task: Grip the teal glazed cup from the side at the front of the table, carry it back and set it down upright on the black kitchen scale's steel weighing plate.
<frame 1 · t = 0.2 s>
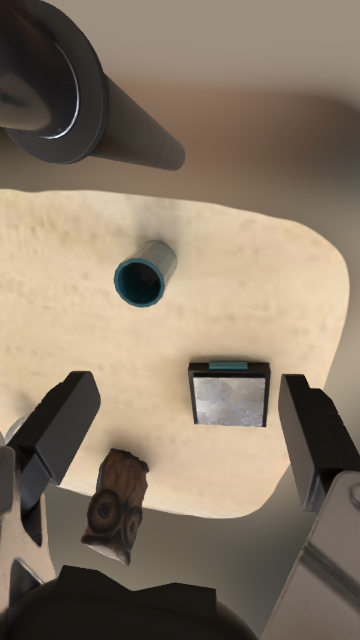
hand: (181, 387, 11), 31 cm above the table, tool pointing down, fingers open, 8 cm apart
owl: (124, 462, 70), on the table
scale: (228, 391, 52), on the table
cup: (156, 261, 40), on the table
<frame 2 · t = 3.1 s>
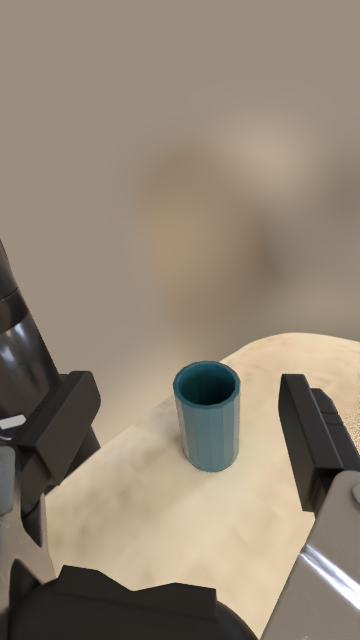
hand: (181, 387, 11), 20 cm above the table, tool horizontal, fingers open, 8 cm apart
cup: (210, 443, 30), on the table
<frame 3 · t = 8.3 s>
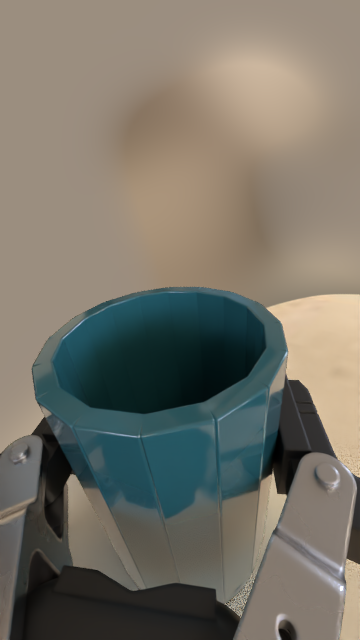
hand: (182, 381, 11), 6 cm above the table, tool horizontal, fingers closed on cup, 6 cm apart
cup: (189, 509, 12), on the table, touching gripper
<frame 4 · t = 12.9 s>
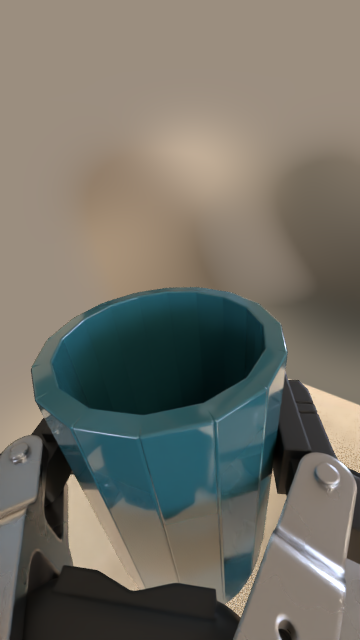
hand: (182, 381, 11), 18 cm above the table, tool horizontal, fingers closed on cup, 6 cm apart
cup: (189, 510, 12), point 12 cm above the table, touching gripper
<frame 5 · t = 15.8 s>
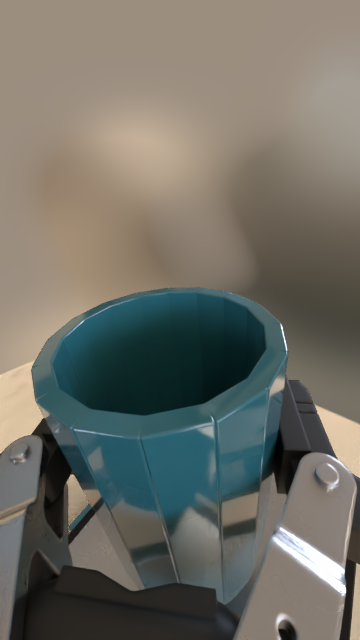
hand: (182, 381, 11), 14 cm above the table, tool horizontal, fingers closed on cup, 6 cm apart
scale: (199, 570, 16), on the table
cup: (189, 510, 12), point 8 cm above the table, touching gripper
when the fingers open (9 cm above the table, at t = 17.8 s): cup stays where it is, resting on scale.
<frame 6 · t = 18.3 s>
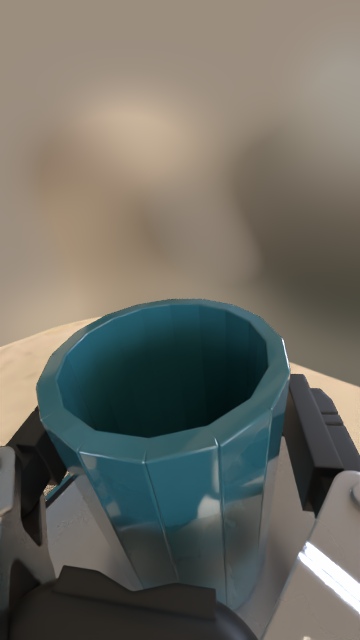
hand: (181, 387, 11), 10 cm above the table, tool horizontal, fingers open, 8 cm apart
scale: (195, 545, 14), on the table
cup: (191, 518, 12), point 3 cm above the table, touching scale
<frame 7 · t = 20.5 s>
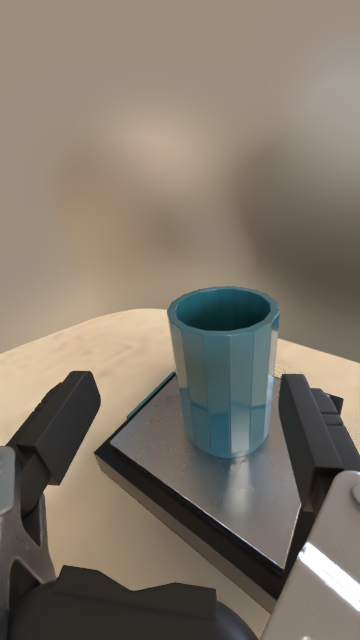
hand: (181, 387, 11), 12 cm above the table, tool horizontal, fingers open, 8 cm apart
scale: (225, 443, 22), on the table
cup: (224, 418, 20), point 3 cm above the table, touching scale
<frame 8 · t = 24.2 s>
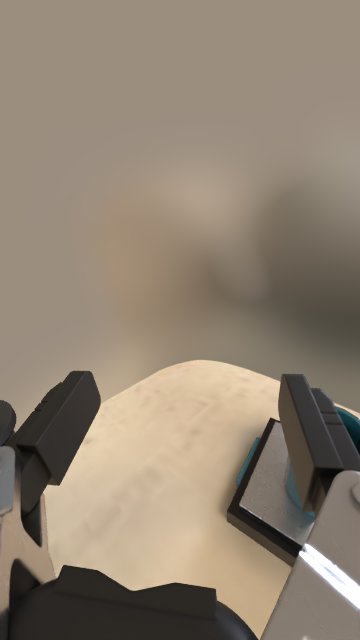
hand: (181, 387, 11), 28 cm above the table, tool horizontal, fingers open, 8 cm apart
scale: (310, 500, 31), on the table
cup: (315, 486, 29), point 3 cm above the table, touching scale
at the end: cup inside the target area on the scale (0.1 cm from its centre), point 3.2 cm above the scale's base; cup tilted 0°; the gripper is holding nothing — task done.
